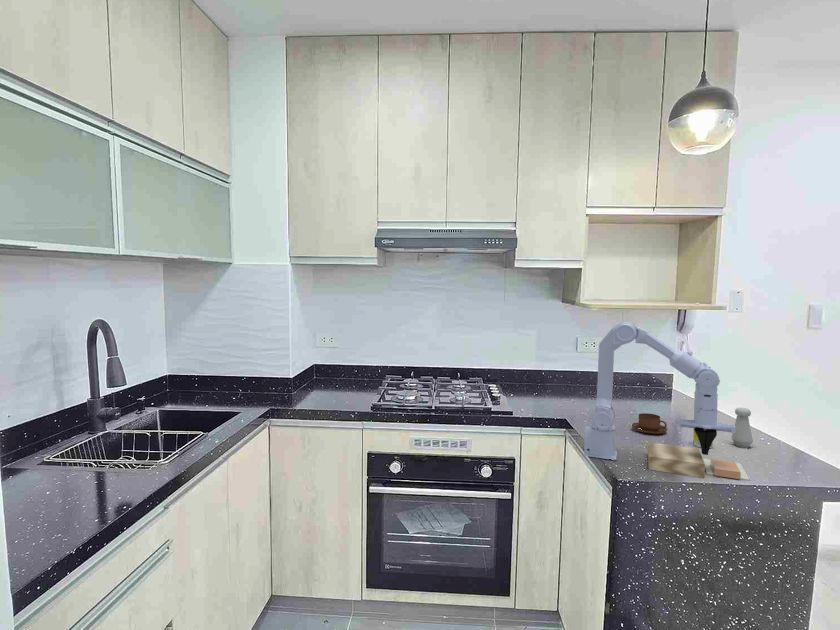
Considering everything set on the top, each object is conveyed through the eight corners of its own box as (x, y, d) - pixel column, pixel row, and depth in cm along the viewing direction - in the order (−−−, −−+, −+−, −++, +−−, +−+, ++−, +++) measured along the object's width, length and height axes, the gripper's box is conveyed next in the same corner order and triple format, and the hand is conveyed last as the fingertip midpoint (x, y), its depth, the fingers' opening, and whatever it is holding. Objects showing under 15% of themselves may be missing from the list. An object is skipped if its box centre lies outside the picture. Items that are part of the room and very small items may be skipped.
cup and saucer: (667, 429, 169) (667, 414, 169) (666, 438, 159) (667, 421, 158) (633, 425, 175) (633, 410, 175) (630, 433, 165) (630, 417, 164)
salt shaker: (748, 450, 146) (749, 411, 145) (728, 445, 150) (729, 408, 150) (755, 446, 149) (756, 408, 149) (735, 442, 154) (736, 405, 153)
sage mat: (706, 474, 126) (706, 473, 126) (701, 459, 138) (701, 458, 138) (749, 480, 122) (749, 479, 122) (740, 464, 133) (740, 463, 133)
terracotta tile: (740, 472, 122) (740, 479, 122) (734, 461, 130) (734, 468, 130) (714, 468, 124) (714, 475, 125) (710, 458, 132) (710, 464, 133)
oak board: (648, 469, 130) (648, 456, 130) (647, 454, 142) (648, 442, 142) (704, 478, 124) (704, 464, 123) (698, 461, 136) (698, 448, 136)
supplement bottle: (705, 449, 146) (706, 419, 146) (689, 444, 151) (690, 415, 151) (716, 447, 148) (717, 417, 148) (700, 442, 154) (700, 413, 153)
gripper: (678, 408, 128) (677, 454, 129) (738, 414, 122) (737, 462, 122) (676, 403, 135) (675, 446, 135) (733, 408, 128) (732, 454, 129)
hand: (704, 453), depth 129 cm, fingers closed
